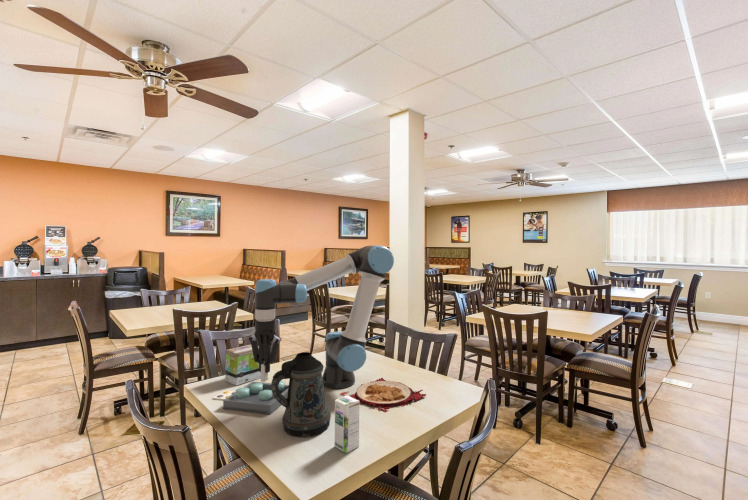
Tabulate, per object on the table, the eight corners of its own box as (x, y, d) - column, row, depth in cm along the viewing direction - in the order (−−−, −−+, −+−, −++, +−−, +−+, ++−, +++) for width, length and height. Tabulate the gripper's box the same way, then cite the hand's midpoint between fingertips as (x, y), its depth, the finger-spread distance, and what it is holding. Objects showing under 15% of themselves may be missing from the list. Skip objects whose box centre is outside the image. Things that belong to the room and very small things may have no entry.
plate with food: (382, 381, 167) (381, 374, 168) (426, 397, 148) (426, 389, 148) (339, 397, 151) (339, 388, 151) (383, 417, 131) (383, 407, 131)
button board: (294, 393, 152) (294, 385, 152) (270, 414, 132) (270, 405, 132) (252, 389, 157) (252, 381, 157) (223, 408, 137) (223, 400, 137)
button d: (251, 394, 143) (251, 388, 143) (244, 399, 138) (244, 393, 138) (240, 393, 144) (240, 387, 144) (233, 398, 139) (233, 391, 139)
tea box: (237, 386, 160) (236, 353, 160) (224, 381, 166) (224, 349, 166) (265, 376, 172) (265, 346, 171) (253, 372, 178) (253, 342, 178)
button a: (286, 387, 150) (286, 381, 150) (280, 391, 145) (280, 385, 145) (275, 386, 151) (275, 380, 151) (269, 390, 146) (269, 384, 146)
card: (241, 393, 152) (241, 391, 152) (230, 400, 144) (230, 399, 144) (225, 391, 154) (225, 389, 154) (212, 398, 146) (212, 397, 146)
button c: (265, 389, 152) (265, 383, 152) (258, 394, 148) (258, 388, 148) (254, 388, 154) (254, 382, 154) (247, 393, 149) (247, 387, 149)
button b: (274, 396, 140) (274, 390, 140) (268, 402, 135) (268, 395, 135) (263, 395, 142) (263, 389, 141) (256, 400, 137) (256, 394, 137)
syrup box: (333, 446, 111) (333, 399, 111) (348, 439, 115) (348, 394, 115) (345, 454, 107) (345, 405, 107) (360, 446, 111) (360, 399, 111)
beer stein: (340, 421, 127) (340, 351, 127) (303, 447, 110) (302, 366, 110) (304, 410, 136) (304, 344, 135) (265, 433, 119) (265, 358, 119)
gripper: (285, 318, 141) (284, 378, 140) (255, 316, 144) (254, 375, 143) (275, 322, 133) (274, 385, 133) (244, 320, 136) (243, 382, 136)
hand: (264, 380), depth 138 cm, fingers closed
